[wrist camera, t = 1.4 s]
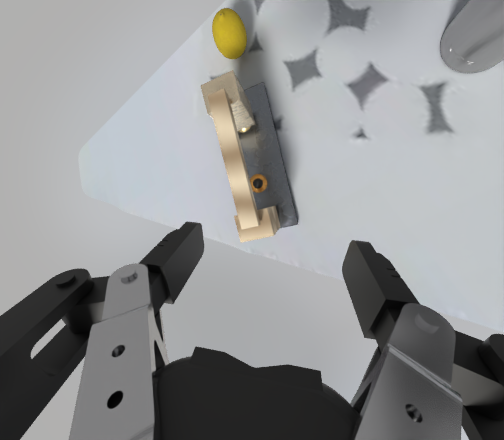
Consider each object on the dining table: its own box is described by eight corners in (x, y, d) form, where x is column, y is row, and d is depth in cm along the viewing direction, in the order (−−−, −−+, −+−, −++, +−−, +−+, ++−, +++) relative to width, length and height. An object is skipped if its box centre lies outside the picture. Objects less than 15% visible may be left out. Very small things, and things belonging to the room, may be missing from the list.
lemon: (257, 52, 36) (245, 12, 28) (235, 75, 37) (218, 43, 30) (239, 30, 36) (223, -16, 28) (218, 54, 38) (197, 16, 30)
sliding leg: (281, 225, 36) (271, 238, 25) (256, 231, 38) (236, 245, 26) (255, 121, 35) (233, 83, 24) (231, 131, 37) (198, 99, 25)
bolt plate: (297, 223, 37) (296, 234, 26) (245, 235, 40) (223, 249, 29) (264, 85, 36) (247, 32, 25) (213, 107, 39) (176, 69, 28)
